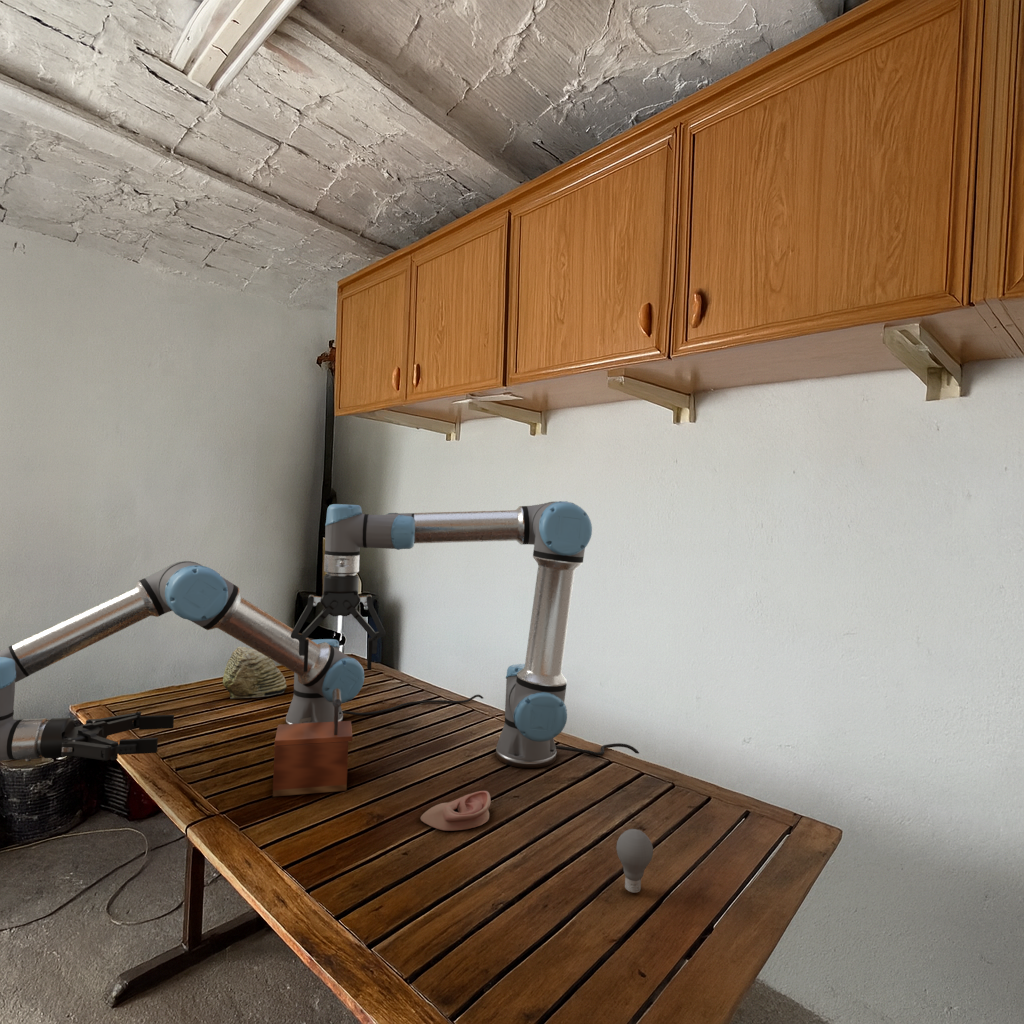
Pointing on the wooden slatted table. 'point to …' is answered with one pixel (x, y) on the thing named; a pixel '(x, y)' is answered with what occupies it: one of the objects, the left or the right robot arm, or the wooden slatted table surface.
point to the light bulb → (634, 857)
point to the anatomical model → (459, 812)
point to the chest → (310, 768)
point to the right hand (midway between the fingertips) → (337, 669)
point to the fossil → (252, 675)
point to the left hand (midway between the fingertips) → (165, 732)
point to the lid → (316, 729)
